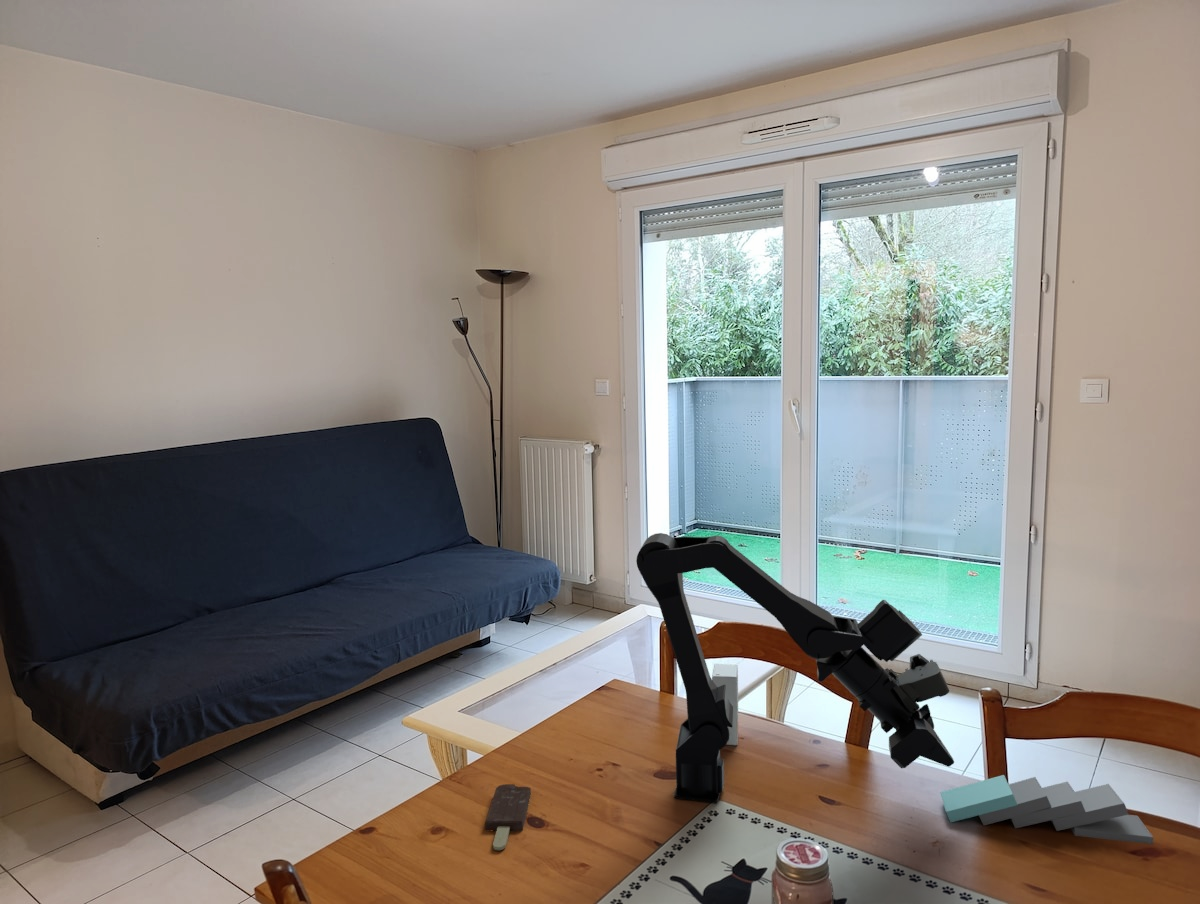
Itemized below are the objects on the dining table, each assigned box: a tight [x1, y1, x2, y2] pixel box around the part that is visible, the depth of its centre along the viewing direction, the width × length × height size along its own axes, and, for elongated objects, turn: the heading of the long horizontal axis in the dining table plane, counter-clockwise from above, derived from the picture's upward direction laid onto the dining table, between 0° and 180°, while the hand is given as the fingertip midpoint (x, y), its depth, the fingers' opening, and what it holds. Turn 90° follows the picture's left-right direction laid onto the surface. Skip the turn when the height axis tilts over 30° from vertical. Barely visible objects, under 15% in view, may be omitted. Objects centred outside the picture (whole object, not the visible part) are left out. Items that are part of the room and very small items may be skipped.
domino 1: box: [978, 776, 1051, 826], centre depth 107 cm, size 2×5×9 cm
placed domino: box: [939, 774, 1018, 823], centre depth 108 cm, size 2×5×9 cm
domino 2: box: [1009, 781, 1085, 829], centre depth 106 cm, size 2×5×9 cm
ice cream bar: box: [484, 783, 532, 851], centre depth 111 cm, size 5×2×15 cm
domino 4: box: [1070, 814, 1154, 845], centre depth 104 cm, size 2×5×9 cm
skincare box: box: [711, 663, 739, 746], centre depth 133 cm, size 6×4×12 cm
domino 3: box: [1049, 783, 1130, 832], centre depth 105 cm, size 2×5×9 cm
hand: (951, 763), depth 109 cm, fingers closed
